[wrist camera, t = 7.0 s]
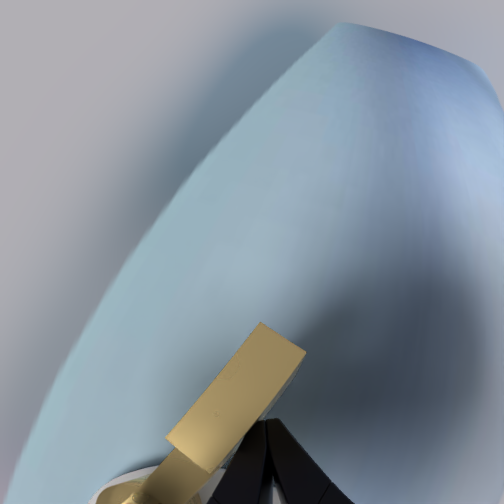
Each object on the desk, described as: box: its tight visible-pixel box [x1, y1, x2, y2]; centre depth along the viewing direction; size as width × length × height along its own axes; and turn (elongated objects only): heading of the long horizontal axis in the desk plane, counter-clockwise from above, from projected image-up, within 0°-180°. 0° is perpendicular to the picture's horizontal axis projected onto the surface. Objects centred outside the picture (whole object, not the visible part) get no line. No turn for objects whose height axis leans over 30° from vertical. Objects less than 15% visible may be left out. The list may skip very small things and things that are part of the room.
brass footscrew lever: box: [96, 322, 307, 504], centre depth 9 cm, size 3×11×6 cm, turn 143°
